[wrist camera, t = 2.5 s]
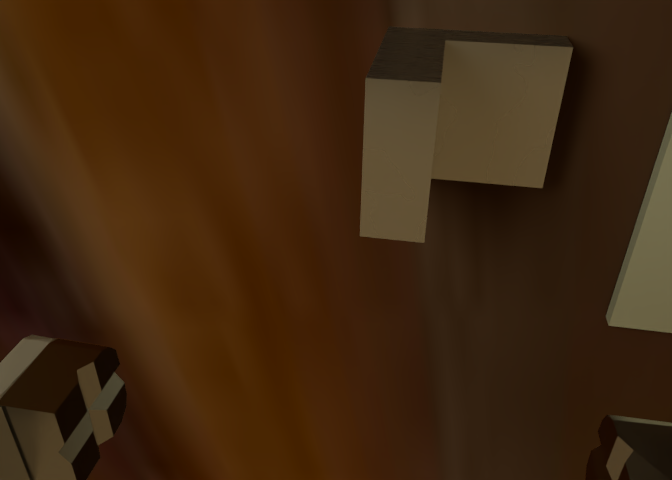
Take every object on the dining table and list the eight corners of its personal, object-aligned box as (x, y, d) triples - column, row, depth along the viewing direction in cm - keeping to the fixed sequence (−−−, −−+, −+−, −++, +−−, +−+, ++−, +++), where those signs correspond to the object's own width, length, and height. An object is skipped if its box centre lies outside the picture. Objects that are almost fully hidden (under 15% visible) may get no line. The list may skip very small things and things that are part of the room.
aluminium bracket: (388, 26, 21) (365, 78, 16) (566, 35, 20) (600, 93, 15) (381, 157, 24) (359, 235, 19) (538, 170, 23) (559, 256, 18)
